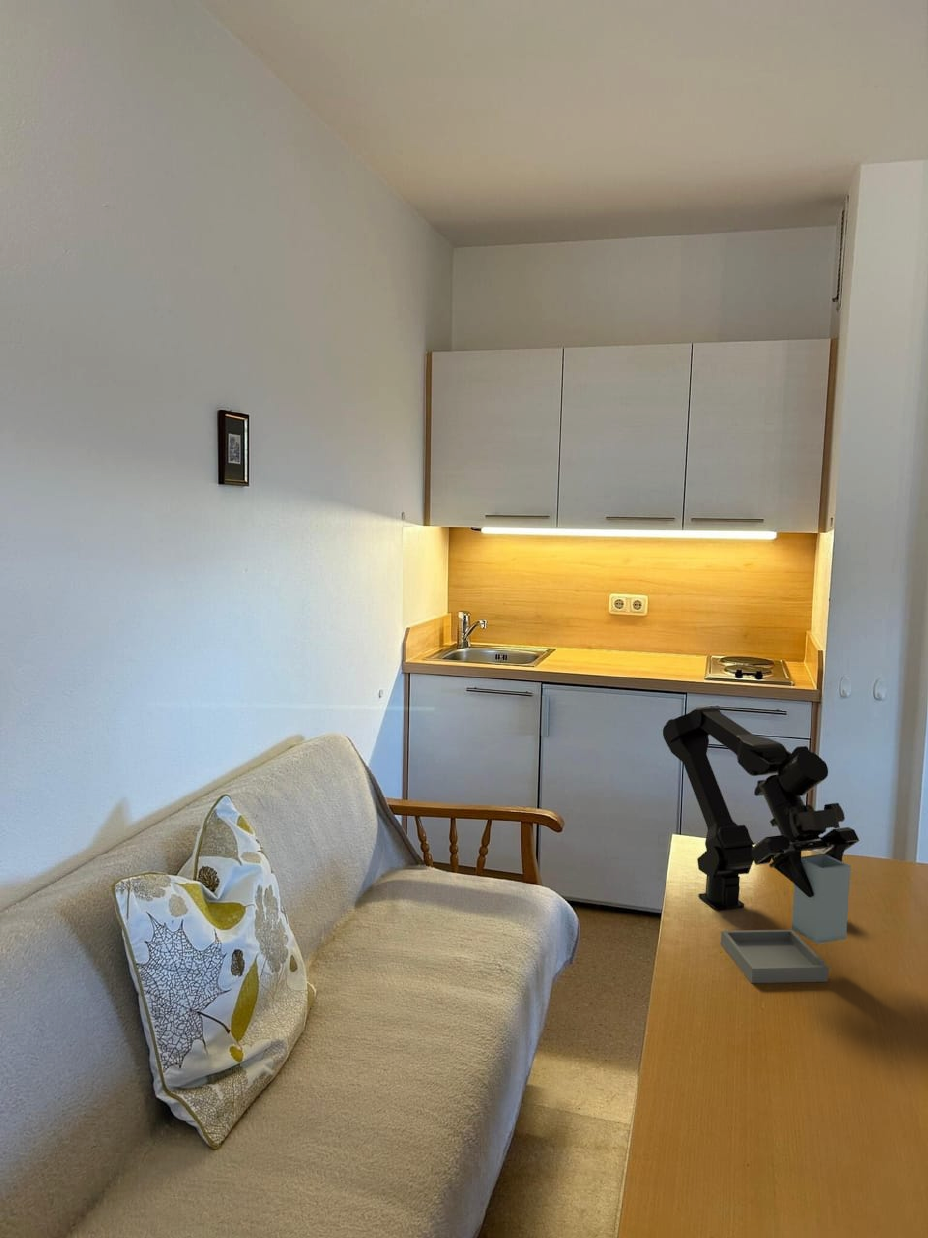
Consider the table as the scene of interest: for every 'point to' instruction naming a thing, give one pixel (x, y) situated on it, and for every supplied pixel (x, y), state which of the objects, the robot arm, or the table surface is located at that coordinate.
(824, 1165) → the table surface
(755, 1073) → the table surface
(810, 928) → the slim crate
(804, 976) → the shallow crate
